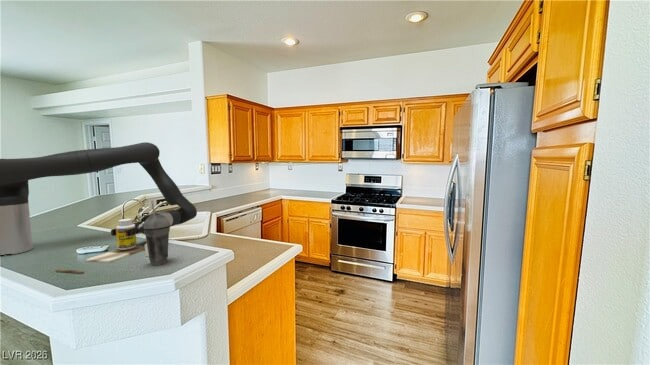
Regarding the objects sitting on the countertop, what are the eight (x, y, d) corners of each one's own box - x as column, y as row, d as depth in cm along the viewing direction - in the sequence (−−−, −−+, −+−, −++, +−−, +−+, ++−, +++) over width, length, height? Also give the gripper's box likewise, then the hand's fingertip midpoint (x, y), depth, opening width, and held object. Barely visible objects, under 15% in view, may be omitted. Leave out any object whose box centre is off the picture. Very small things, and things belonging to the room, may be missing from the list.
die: (145, 256, 90) (144, 243, 90) (150, 252, 94) (150, 240, 94) (158, 255, 91) (157, 243, 90) (163, 251, 95) (162, 239, 94)
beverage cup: (177, 260, 86) (174, 199, 85) (156, 268, 80) (153, 202, 78) (160, 257, 89) (157, 198, 87) (139, 265, 82) (135, 201, 80)
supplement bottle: (116, 251, 92) (114, 222, 91) (118, 247, 96) (116, 219, 95) (136, 248, 95) (134, 220, 94) (136, 244, 99) (135, 217, 98)
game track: (55, 271, 77) (55, 269, 77) (125, 247, 100) (125, 245, 100) (81, 273, 76) (81, 271, 76) (146, 248, 98) (146, 247, 98)
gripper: (141, 212, 110) (101, 221, 93) (172, 213, 107) (136, 223, 91) (142, 230, 110) (102, 242, 94) (173, 231, 108) (138, 244, 91)
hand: (119, 233), depth 92 cm, fingers closed on supplement bottle, 5 cm apart
